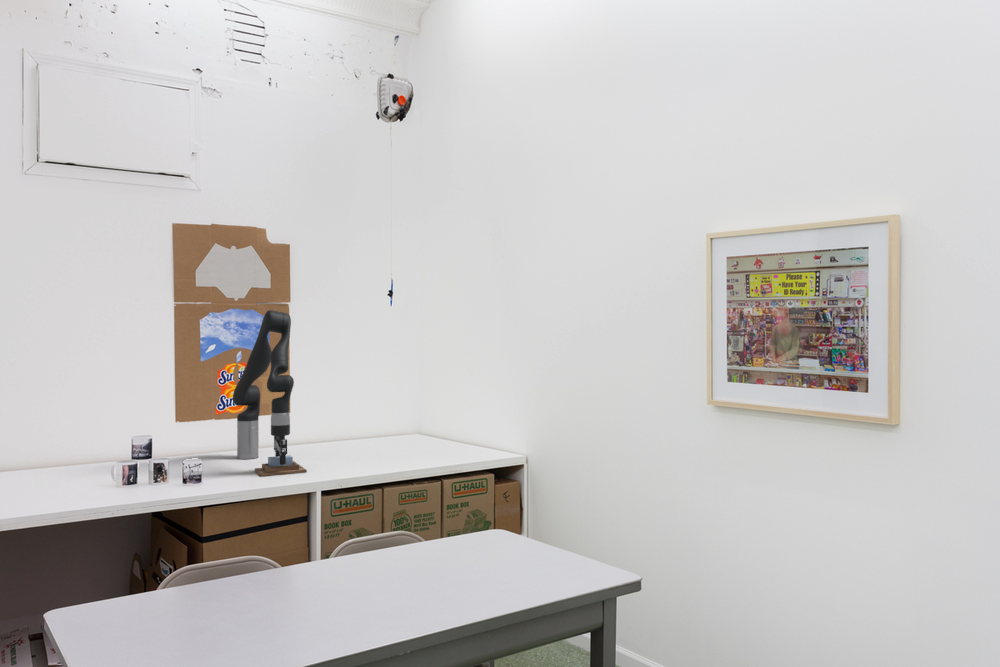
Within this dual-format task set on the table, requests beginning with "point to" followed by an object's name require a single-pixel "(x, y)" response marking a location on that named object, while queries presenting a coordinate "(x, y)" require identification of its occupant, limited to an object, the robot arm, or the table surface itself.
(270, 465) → the bar
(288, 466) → the tray
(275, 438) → the robot arm
